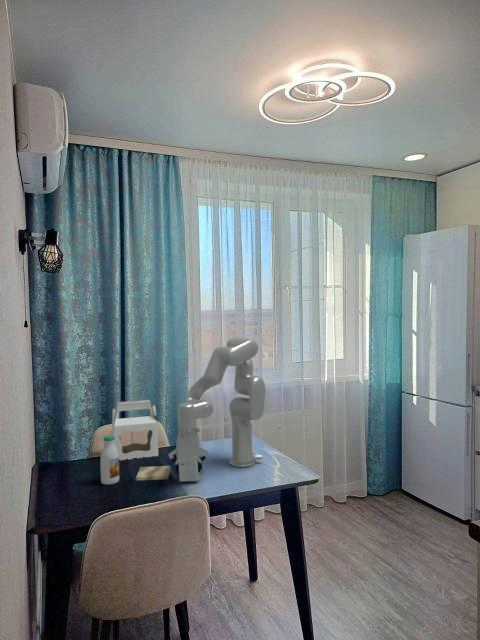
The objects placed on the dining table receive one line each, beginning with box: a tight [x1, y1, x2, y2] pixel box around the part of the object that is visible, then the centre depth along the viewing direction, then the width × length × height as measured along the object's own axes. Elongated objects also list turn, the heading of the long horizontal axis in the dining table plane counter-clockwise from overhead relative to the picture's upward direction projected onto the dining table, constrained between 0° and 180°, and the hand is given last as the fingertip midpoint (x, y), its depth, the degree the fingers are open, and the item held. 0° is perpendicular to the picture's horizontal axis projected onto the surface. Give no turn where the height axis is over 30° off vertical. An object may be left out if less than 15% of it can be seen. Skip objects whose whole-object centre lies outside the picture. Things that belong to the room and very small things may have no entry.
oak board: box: [135, 465, 172, 481], centre depth 210 cm, size 14×14×1 cm
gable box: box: [111, 399, 159, 461], centre depth 239 cm, size 22×13×28 cm, turn 108°
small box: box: [178, 457, 201, 482], centre depth 200 cm, size 8×6×10 cm
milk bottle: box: [100, 434, 120, 485], centre depth 202 cm, size 8×8×20 cm
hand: (189, 471), depth 199 cm, fingers closed on small box, 8 cm apart
